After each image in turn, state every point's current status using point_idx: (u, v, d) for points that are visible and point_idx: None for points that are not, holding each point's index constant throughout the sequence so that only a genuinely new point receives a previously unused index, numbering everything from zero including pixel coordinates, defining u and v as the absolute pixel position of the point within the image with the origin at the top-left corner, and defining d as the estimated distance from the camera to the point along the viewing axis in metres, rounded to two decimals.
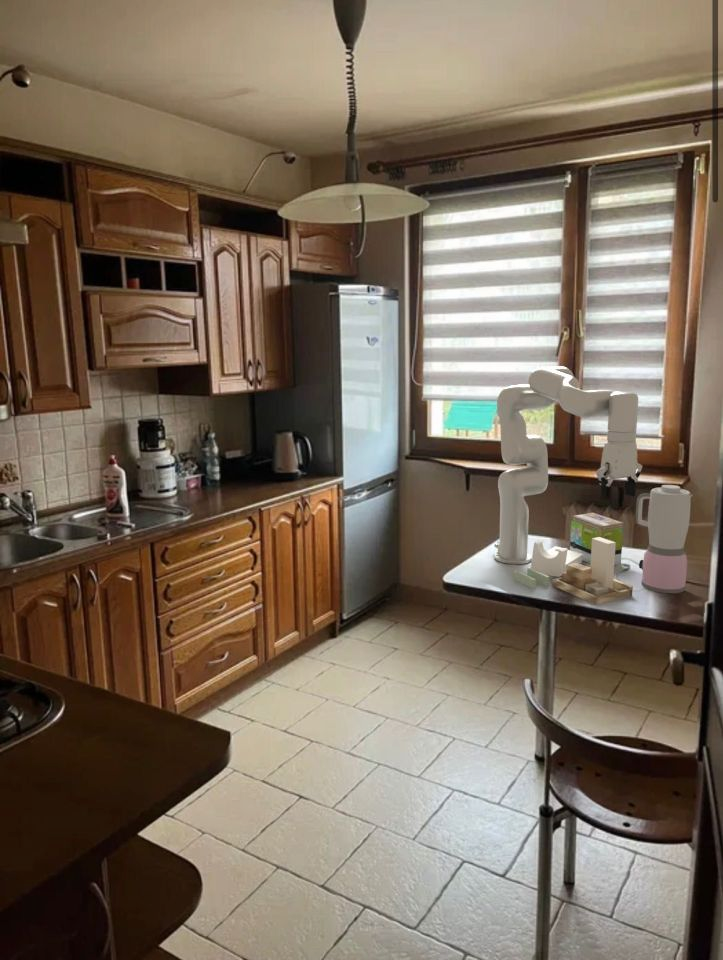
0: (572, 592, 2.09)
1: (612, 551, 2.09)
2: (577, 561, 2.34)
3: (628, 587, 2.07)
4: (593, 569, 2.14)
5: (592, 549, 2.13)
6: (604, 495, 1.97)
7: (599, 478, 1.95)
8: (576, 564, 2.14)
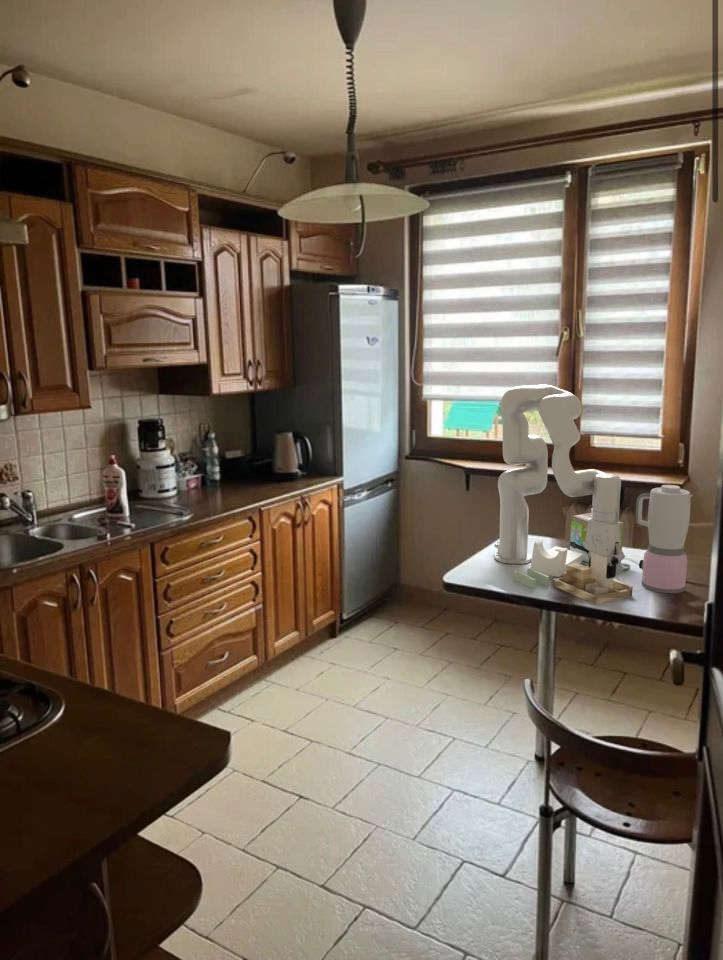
0: (572, 592, 2.09)
1: None
2: (577, 561, 2.34)
3: (628, 587, 2.07)
4: (593, 569, 2.14)
5: None
6: (614, 574, 2.09)
7: (619, 560, 2.06)
8: (576, 564, 2.14)
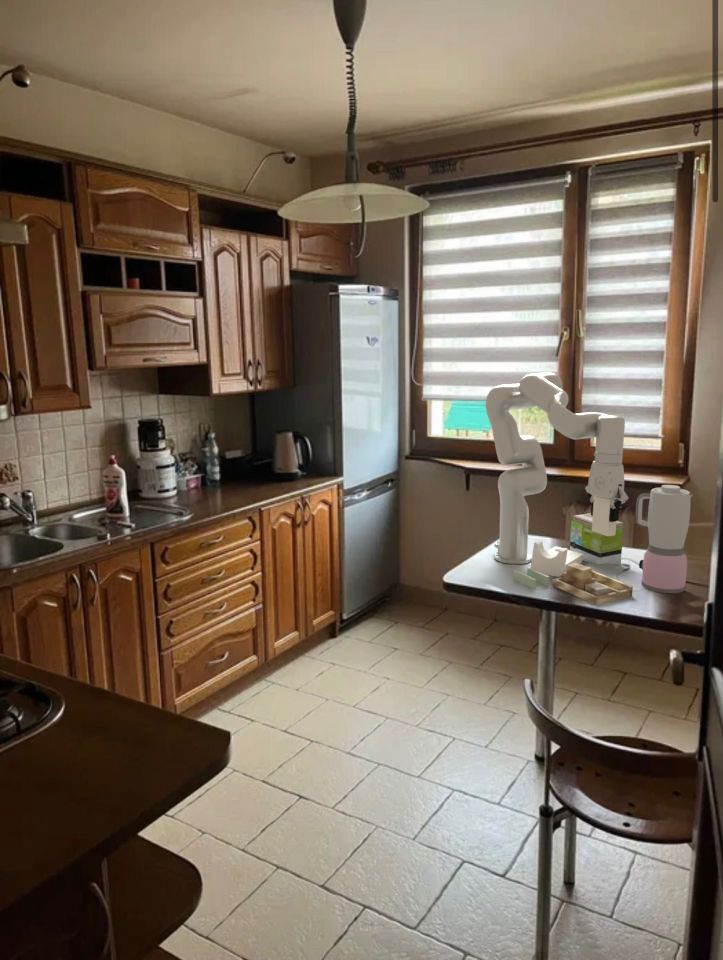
0: (572, 592, 2.09)
1: None
2: (577, 561, 2.34)
3: (628, 587, 2.07)
4: (596, 513, 2.10)
5: None
6: (617, 517, 2.05)
7: (623, 503, 2.02)
8: (576, 564, 2.14)
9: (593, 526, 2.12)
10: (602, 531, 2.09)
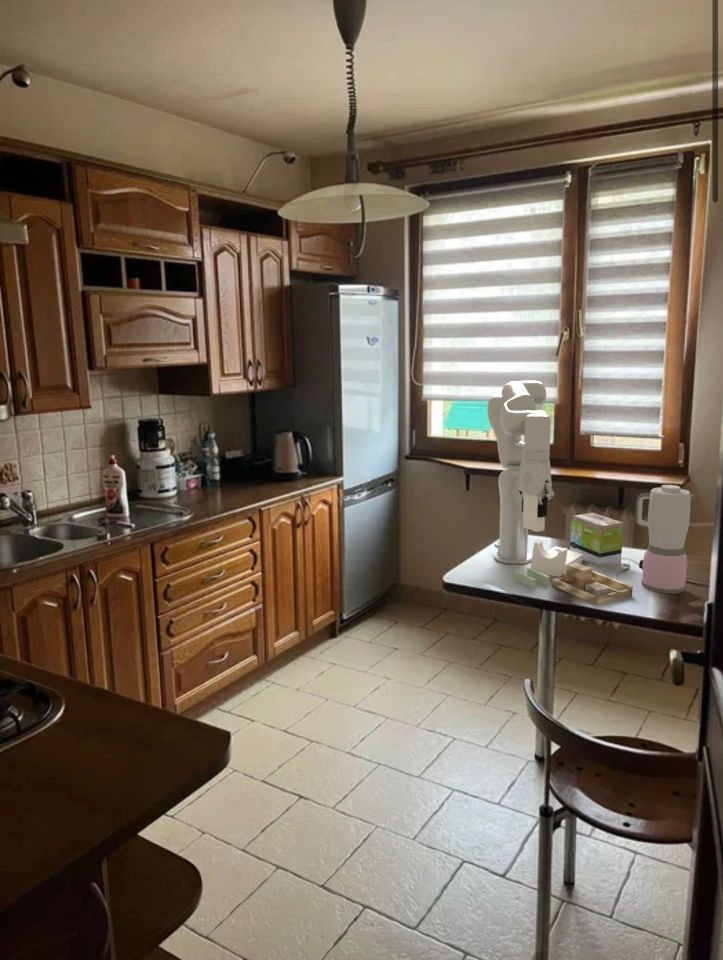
0: (572, 592, 2.09)
1: None
2: (577, 561, 2.34)
3: (628, 587, 2.07)
4: (526, 509, 2.16)
5: None
6: (545, 513, 2.11)
7: (549, 499, 2.08)
8: (576, 564, 2.14)
9: (524, 522, 2.17)
10: (531, 527, 2.14)
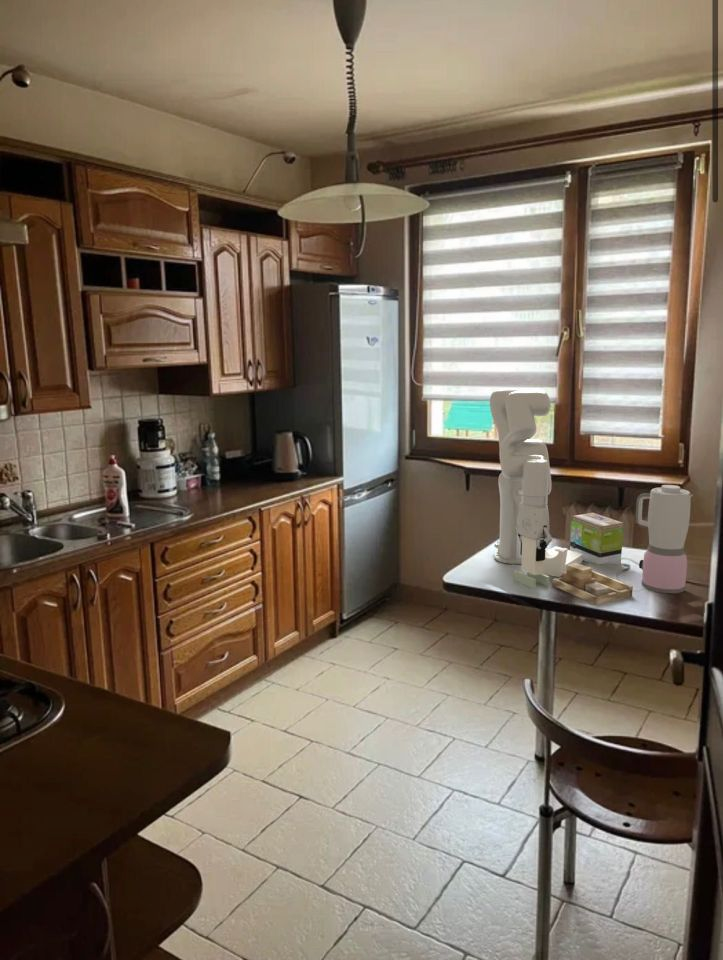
0: (572, 592, 2.09)
1: None
2: (577, 561, 2.34)
3: (628, 587, 2.07)
4: (524, 553, 2.18)
5: None
6: (543, 557, 2.14)
7: (547, 543, 2.11)
8: (576, 564, 2.14)
9: (522, 565, 2.20)
10: (530, 570, 2.17)
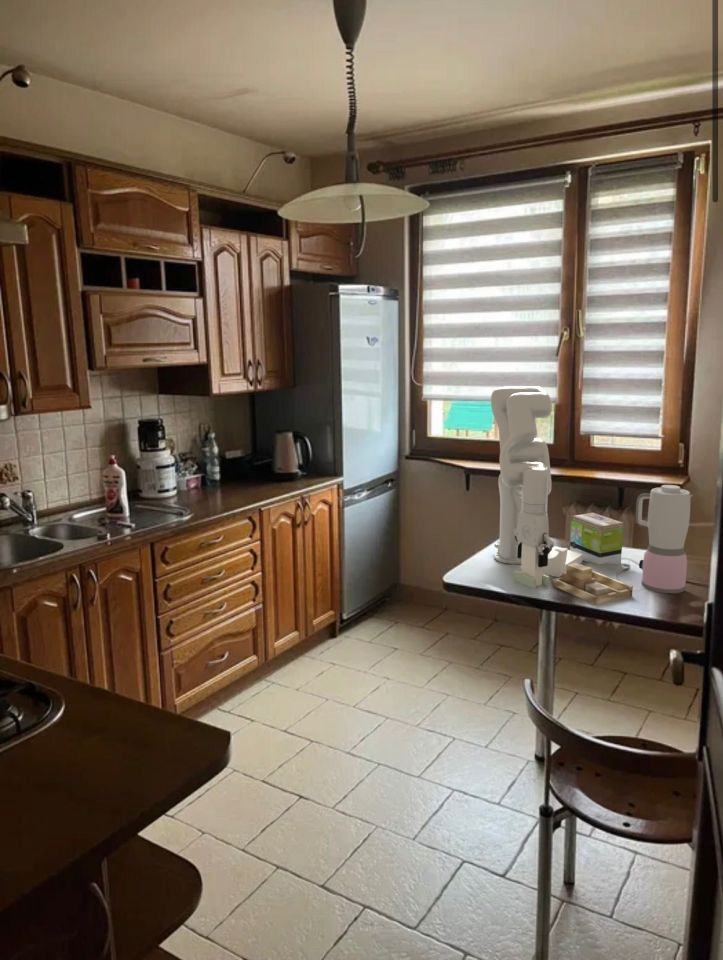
0: (572, 592, 2.09)
1: None
2: (577, 561, 2.34)
3: (628, 587, 2.07)
4: (523, 564, 2.19)
5: (522, 545, 2.19)
6: (546, 562, 2.13)
7: (550, 548, 2.10)
8: (576, 564, 2.14)
9: None
10: None
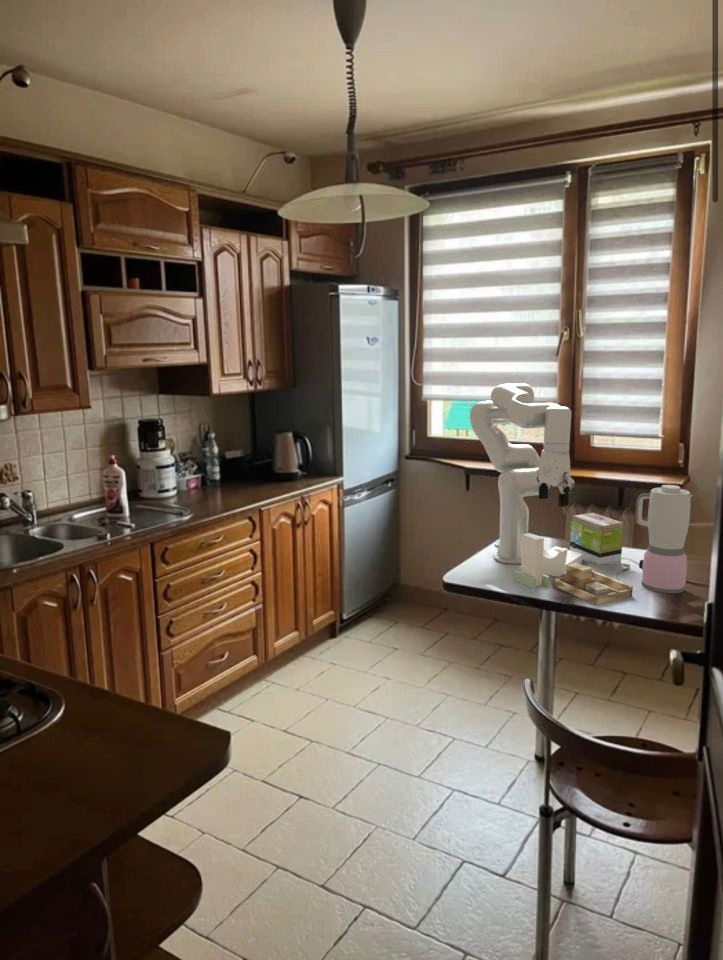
0: (572, 592, 2.09)
1: (540, 546, 2.14)
2: (577, 561, 2.34)
3: (628, 587, 2.07)
4: (523, 564, 2.19)
5: (522, 545, 2.19)
6: (566, 502, 2.14)
7: (571, 487, 2.11)
8: (576, 564, 2.14)
9: None
10: None
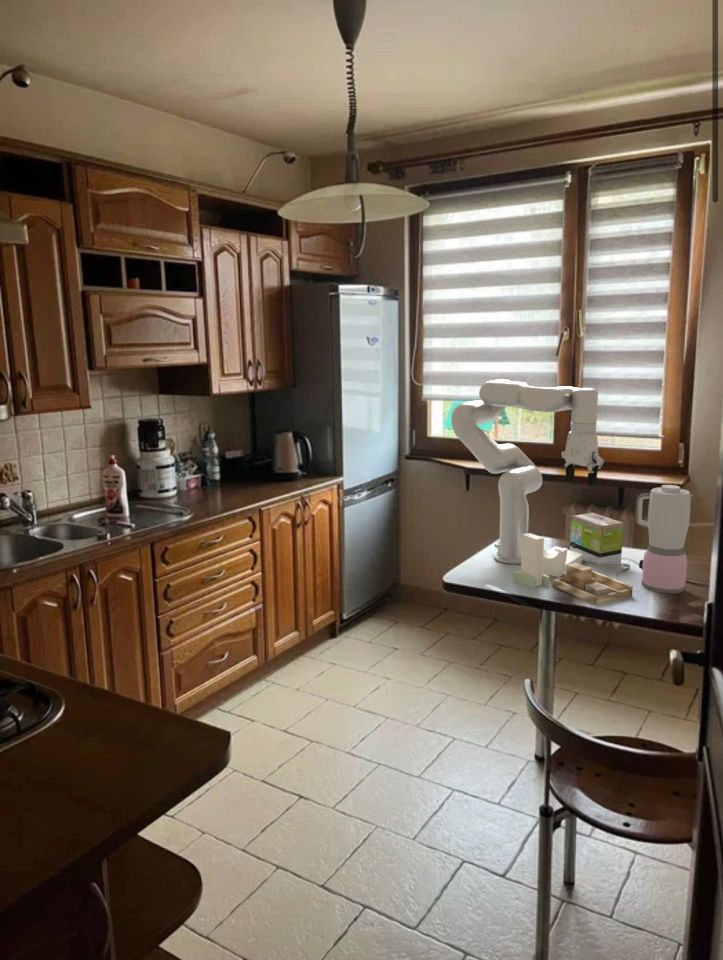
0: (572, 592, 2.09)
1: (540, 546, 2.14)
2: (577, 561, 2.34)
3: (628, 587, 2.07)
4: (523, 564, 2.19)
5: (522, 545, 2.19)
6: (595, 481, 2.19)
7: (600, 466, 2.16)
8: (576, 564, 2.14)
9: None
10: None
